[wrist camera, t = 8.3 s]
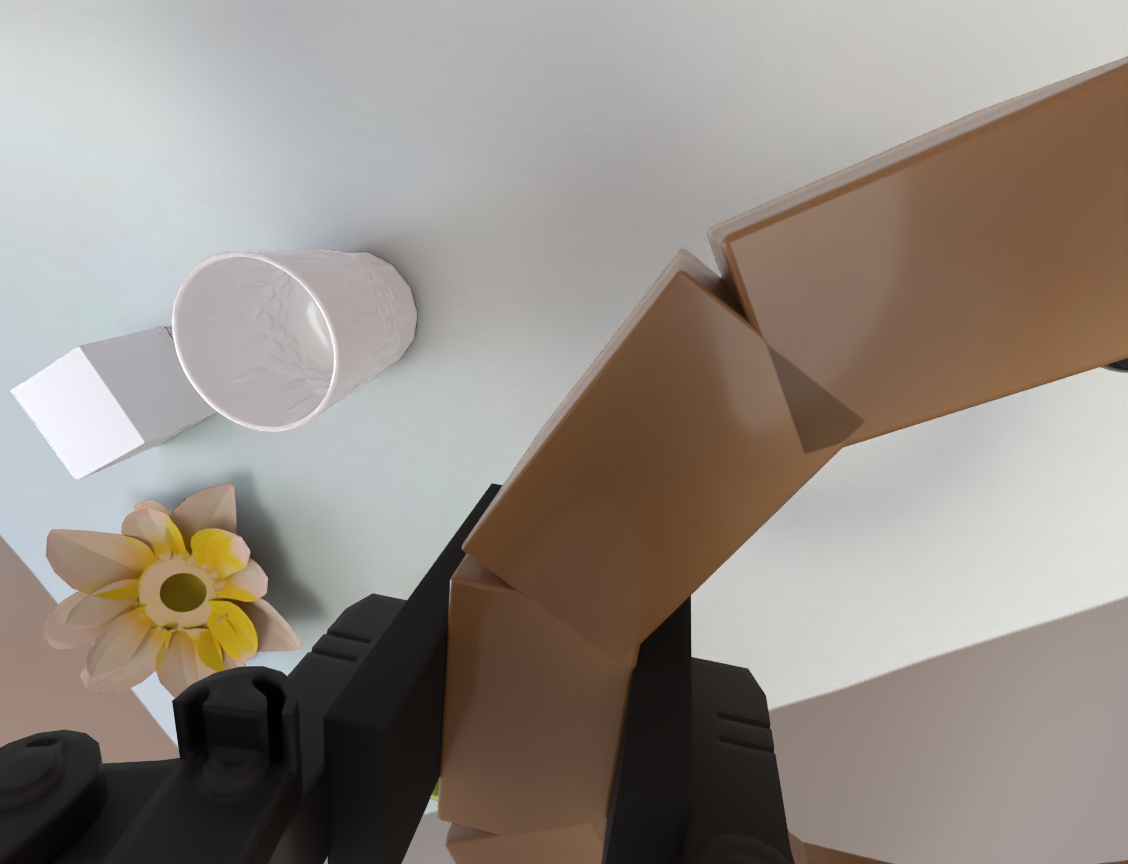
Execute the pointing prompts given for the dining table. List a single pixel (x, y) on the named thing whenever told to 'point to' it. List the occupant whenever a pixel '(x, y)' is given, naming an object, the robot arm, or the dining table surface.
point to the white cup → (289, 331)
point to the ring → (763, 427)
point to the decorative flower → (164, 596)
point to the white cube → (112, 400)
